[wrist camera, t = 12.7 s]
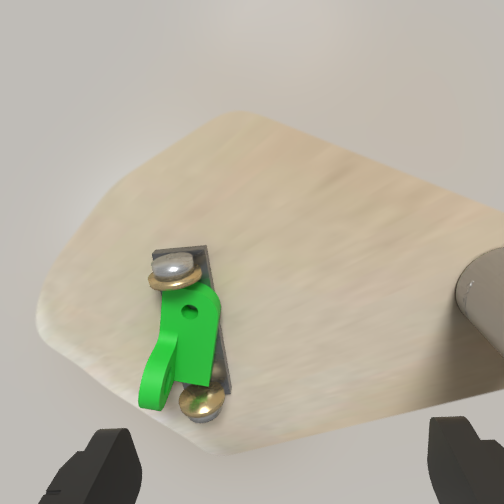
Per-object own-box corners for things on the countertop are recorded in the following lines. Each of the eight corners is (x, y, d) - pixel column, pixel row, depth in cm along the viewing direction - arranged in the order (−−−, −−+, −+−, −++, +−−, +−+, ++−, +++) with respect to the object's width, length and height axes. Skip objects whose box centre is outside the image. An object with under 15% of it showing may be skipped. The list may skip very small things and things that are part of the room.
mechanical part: (211, 374, 42) (197, 430, 35) (162, 366, 42) (137, 420, 35) (223, 286, 38) (210, 329, 30) (168, 276, 38) (141, 317, 30)
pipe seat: (206, 245, 37) (194, 268, 32) (231, 387, 44) (225, 426, 39) (155, 249, 38) (134, 273, 32) (188, 389, 45) (175, 428, 39)
